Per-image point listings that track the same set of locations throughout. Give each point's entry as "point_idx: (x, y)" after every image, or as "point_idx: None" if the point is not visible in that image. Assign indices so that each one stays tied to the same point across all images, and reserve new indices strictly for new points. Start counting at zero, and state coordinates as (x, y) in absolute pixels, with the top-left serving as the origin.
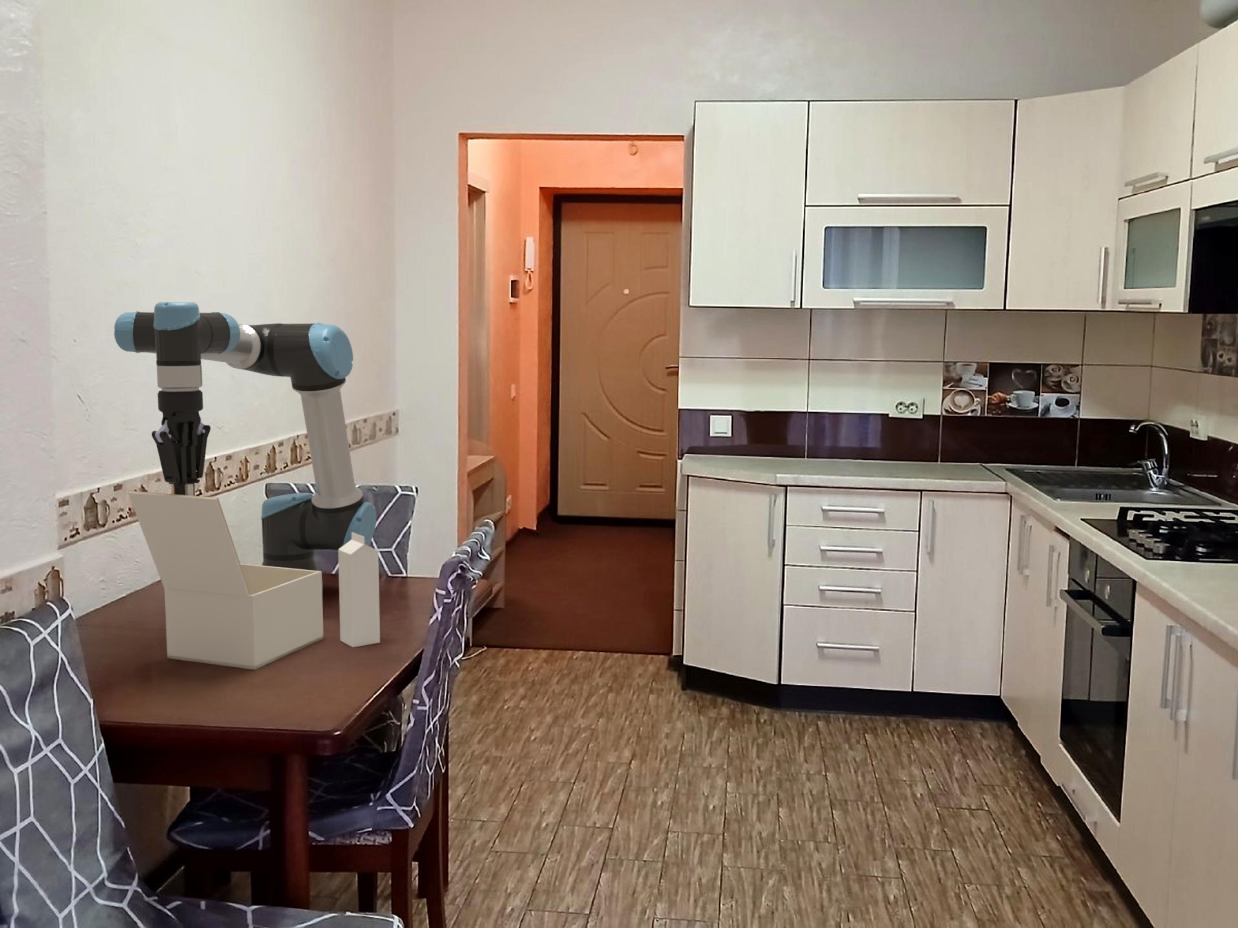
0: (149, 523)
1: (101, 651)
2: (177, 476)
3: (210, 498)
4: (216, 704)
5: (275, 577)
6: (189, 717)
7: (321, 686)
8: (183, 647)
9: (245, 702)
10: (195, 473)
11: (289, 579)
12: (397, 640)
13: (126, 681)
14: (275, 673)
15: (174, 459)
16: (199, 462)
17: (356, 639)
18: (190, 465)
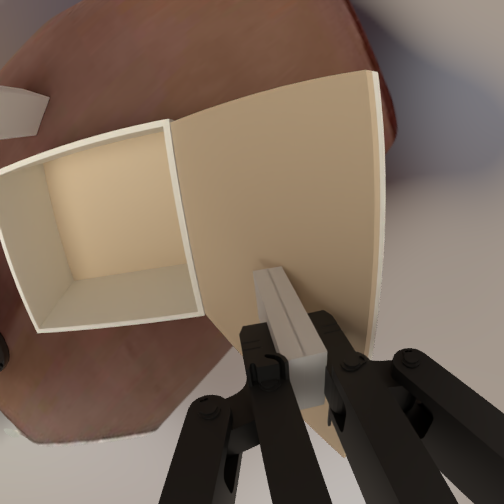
0: None
1: (227, 341)
2: (421, 371)
3: (378, 111)
4: (311, 70)
5: (20, 257)
6: (355, 70)
7: (197, 8)
8: None
9: (290, 45)
10: (261, 414)
11: (12, 230)
12: (10, 81)
13: None
14: (181, 89)
15: (489, 435)
16: (218, 481)
17: (41, 95)
18: (315, 457)
